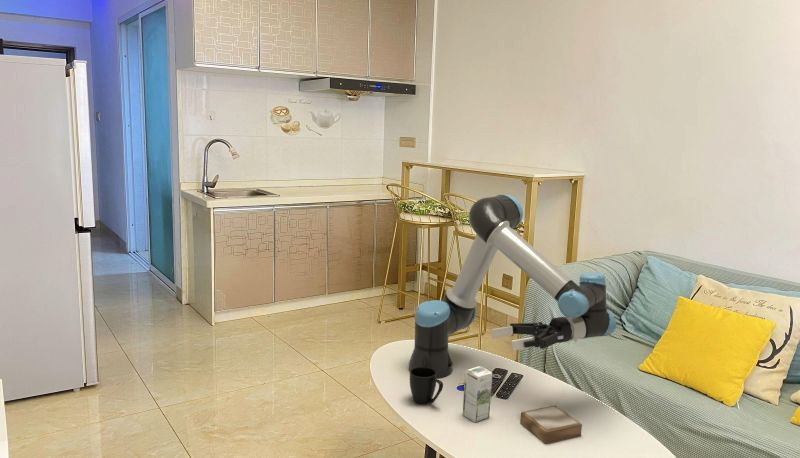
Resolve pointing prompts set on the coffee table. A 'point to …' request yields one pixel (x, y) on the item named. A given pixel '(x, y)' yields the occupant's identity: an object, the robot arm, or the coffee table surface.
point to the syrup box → (477, 393)
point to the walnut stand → (550, 424)
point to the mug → (424, 385)
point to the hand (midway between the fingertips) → (501, 339)
